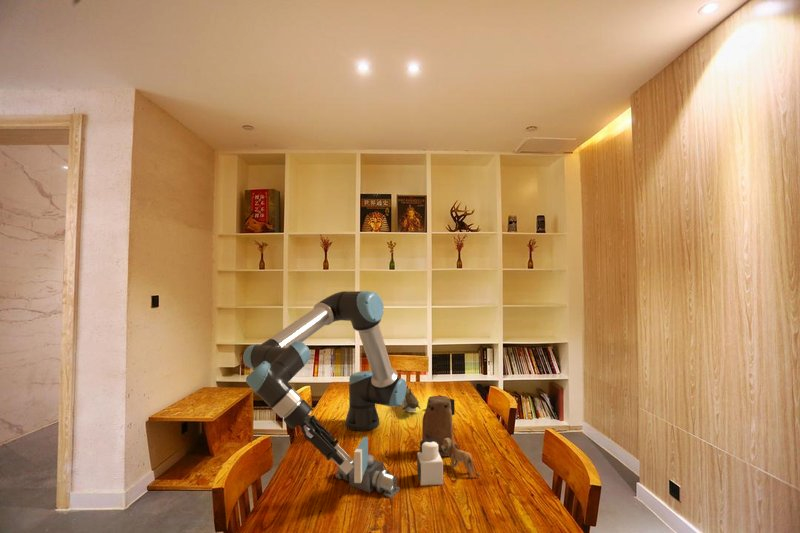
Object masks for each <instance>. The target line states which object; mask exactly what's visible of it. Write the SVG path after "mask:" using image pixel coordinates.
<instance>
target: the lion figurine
mask: <svg viewBox="0 0 800 533" xmlns="http://www.w3.org/2000/svg"><path fill="white" fill-rule="evenodd" d="M441 448H442V451H445V452H446V453H447V454H448V456H447V457H449V458H450V462H451V465H450V469H455V467H456V466H457V467H458V466H459V462H460V463H463V465H464V467H465V470H466V471H467V472H468V475H467V478H468V479H472V478H473V473H474V475H475V476H476V477H480V475H479V474H478V473H477V472H476V470H475V467H474V462H473V456H472V454H471V453H470V452H469V451H464V450H462V449H460V447H459V444H458V443H457V442H455V440H454V439H453V440H452V439H450V438H445V439H444V442H443V445H442V446H441ZM472 471H473V473H472Z"/></svg>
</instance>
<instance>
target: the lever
mask: <svg viewBox="0 0 800 533" xmlns="http://www.w3.org/2000/svg"><path fill="white" fill-rule="evenodd" d="M353 453H354V454H353V459H354V483H361V481H362V477H363V475H364V472H365V470H366V468H367V466H370V465H372V464H373V459H374V456H373V454H369V437H368V436H365V437H364V436H363V437H362V439H361V441H360V442H359V444H358V446H357V448H355V450H354V451H353Z"/></svg>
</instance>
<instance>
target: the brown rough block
mask: <svg viewBox="0 0 800 533" xmlns="http://www.w3.org/2000/svg"><path fill="white" fill-rule="evenodd" d="M449 398H450V397H449V396H445V395H441V397H440V396H439V395H433V396H429V397H428V399H427V402H426V408H425V412H424V414H423V416H422V423H421V425H422V428H421V429H422V430H421V432H422V433H421V435H422V440H424V439H427V438H431V439H435V440H437V441H438V442H439V454H440V456H441V458H442V457H449V456H448V454H447V453H446V452H445V451H442V448H441V446H442V445H443V442H444V439H445V438H450V439H452V440H453V441H454V432H453V430H454V429H453V415H452V410H451V402H450V399H451V398H450V399H449Z"/></svg>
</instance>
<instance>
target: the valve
mask: <svg viewBox="0 0 800 533" xmlns="http://www.w3.org/2000/svg"><path fill="white" fill-rule="evenodd" d="M352 459H353V461H352V462H351V464H352V465H353V466H354V458H352ZM335 477H336V478H335ZM334 478H335V479H337V478H338V479H337V480H340V479H341V480H344V481H346V482H349V484H348V485H349V486H350V487H353V488H355V489H359V490H362V491H364V492H367V493H369V494H370V493H371V492H372V491H374V490H376V492H377V493H379V494H383V497H387V498H389V499H391V498H393V496H394V495H396V494H398V492H399V491H400V490H401V487H400V486H397V485H398V477H397V476H396V475H394V474H391V471H390V470H388V469H386V468H384V462H383V461H380V460H377V459H375V458H373V464H372V465H370V466H367V468H366V470H365V472H364V475H363V477H362V481H361V483H354V467H353V468H352V469H351V470H350V471H349V472H348V474H346V473H345V472H344V471H343V470H342V469H341V468H340V467H339V466H338V465H337V473H336V474H335V476H334ZM342 478H343V479H342Z"/></svg>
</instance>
